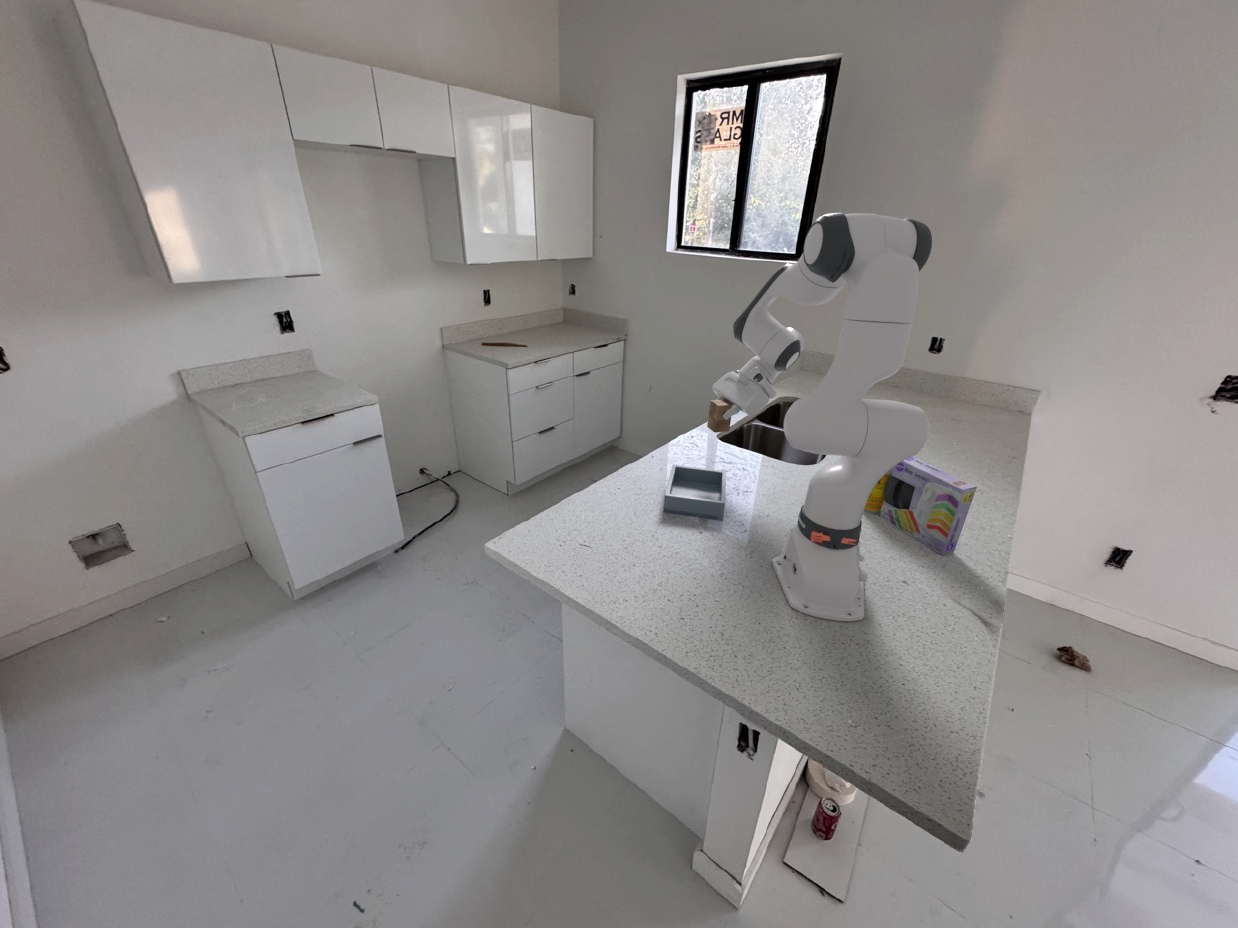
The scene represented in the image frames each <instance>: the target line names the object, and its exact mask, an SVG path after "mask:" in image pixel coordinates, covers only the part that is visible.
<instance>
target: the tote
mask: <svg viewBox="0 0 1238 928" xmlns="http://www.w3.org/2000/svg"><path fill="white" fill-rule="evenodd" d="M668 478H669V479H668V480H667V481H668V482H667V485H666V489H665V494H664V501H663V511H662V512H663V513H666V514H673V515H681V516H682V515H683V516H689V517H695V518H703V519H709V520H717V521H723V520H724V519H723V518H724V512H725V505H726V488H727V487H726V485H727V471H724V470H719V469H718V470H716V469H712V468H711V469H709V468H701V467H694V466H685V465H679V464H678V465H677V464H672V466H671V470H670V474H669V477H668Z"/></svg>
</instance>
